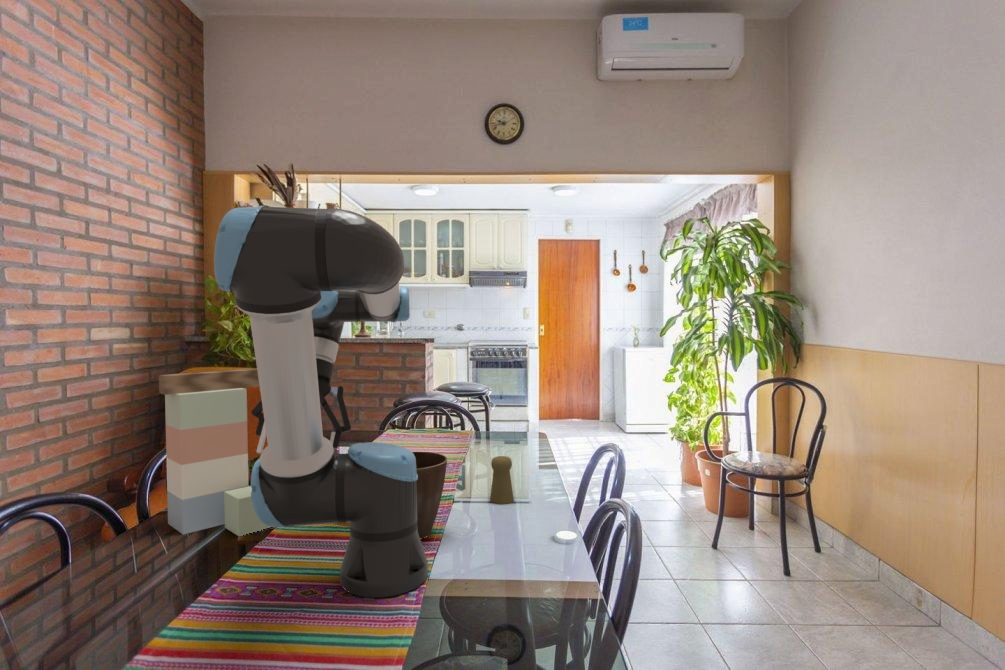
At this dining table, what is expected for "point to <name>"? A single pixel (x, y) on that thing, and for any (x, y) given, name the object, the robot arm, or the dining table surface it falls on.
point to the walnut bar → (207, 381)
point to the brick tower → (204, 455)
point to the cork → (501, 481)
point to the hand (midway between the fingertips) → (293, 458)
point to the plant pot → (429, 488)
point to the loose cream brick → (241, 512)
